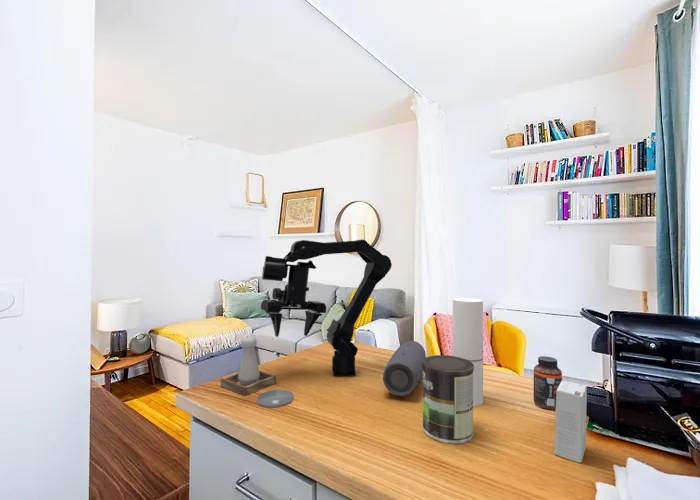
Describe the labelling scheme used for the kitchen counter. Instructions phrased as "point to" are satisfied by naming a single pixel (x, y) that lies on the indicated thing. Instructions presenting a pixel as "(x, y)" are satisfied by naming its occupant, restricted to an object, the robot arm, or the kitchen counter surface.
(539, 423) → the kitchen counter surface
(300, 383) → the kitchen counter surface
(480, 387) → the cylindrical container
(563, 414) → the skincare box
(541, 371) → the supplement bottle
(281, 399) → the coaster
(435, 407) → the coffee can
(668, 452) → the kitchen counter surface
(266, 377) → the square wooden frame
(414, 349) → the bluetooth speaker
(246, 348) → the salt shaker
